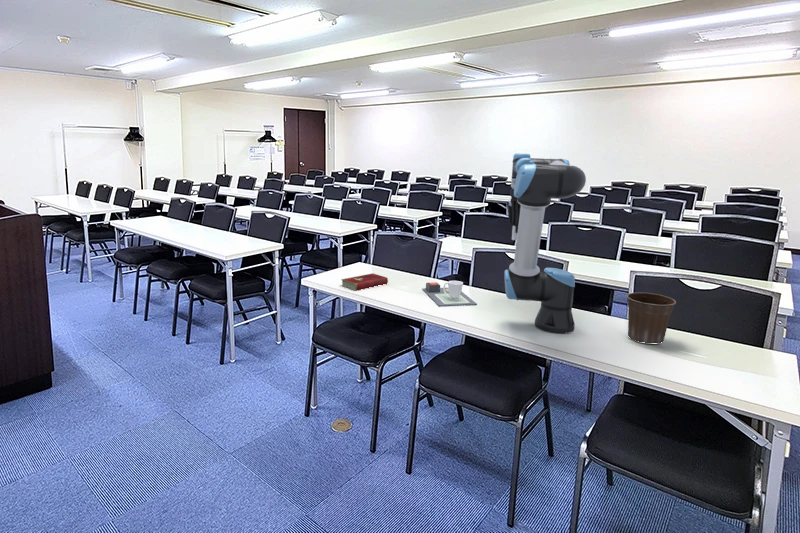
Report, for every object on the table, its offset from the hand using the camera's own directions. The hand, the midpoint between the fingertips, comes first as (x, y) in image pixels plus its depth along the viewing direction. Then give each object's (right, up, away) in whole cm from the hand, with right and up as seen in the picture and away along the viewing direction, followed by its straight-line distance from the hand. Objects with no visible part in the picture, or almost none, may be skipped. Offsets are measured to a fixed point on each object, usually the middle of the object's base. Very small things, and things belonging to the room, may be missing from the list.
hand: (514, 239), depth 222 cm
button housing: (-37, -25, +13) cm, 47 cm away
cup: (-29, -28, +1) cm, 40 cm away
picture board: (-30, -27, +6) cm, 41 cm away
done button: (-37, -24, +13) cm, 46 cm away
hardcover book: (-71, -23, +22) cm, 78 cm away
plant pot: (+39, -40, -42) cm, 70 cm away
